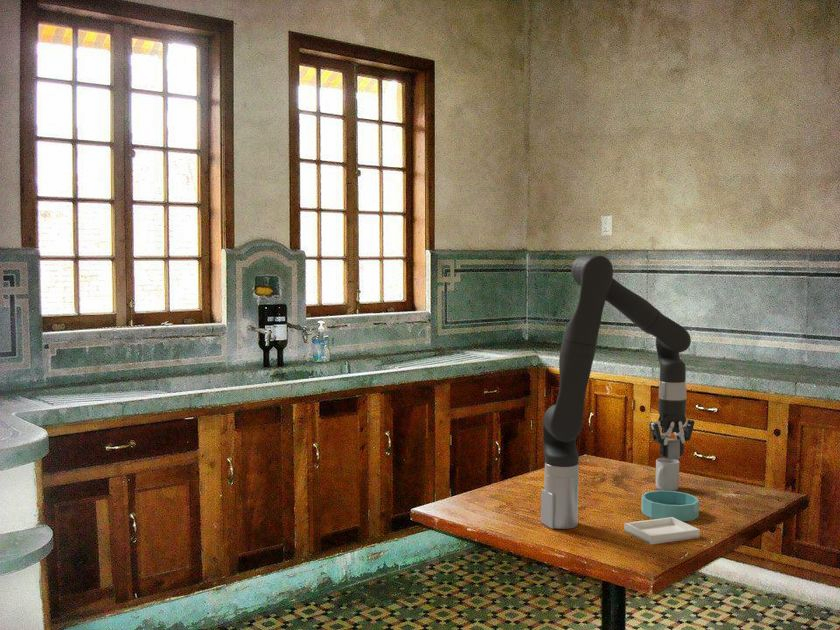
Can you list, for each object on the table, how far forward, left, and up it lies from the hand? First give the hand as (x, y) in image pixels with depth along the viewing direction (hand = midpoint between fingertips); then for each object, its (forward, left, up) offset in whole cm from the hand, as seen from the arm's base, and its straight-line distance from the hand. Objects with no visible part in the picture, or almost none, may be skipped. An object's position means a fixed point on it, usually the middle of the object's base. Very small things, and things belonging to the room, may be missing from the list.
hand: (671, 456), depth 245 cm
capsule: (0, 0, 0) cm, 0 cm away
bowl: (+2, +4, -18) cm, 18 cm away
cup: (+17, +26, -18) cm, 36 cm away
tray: (-12, -11, -18) cm, 24 cm away
